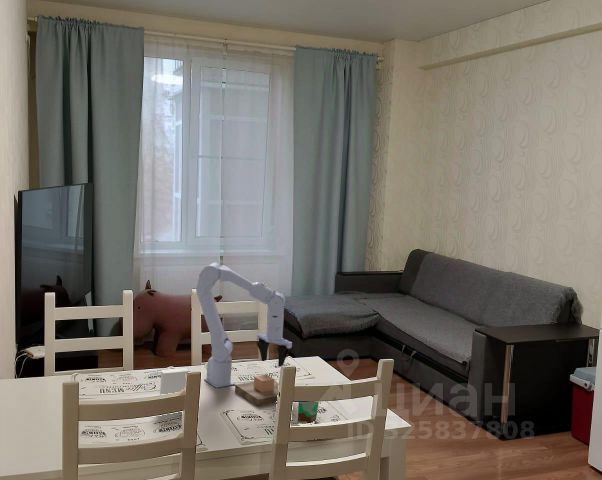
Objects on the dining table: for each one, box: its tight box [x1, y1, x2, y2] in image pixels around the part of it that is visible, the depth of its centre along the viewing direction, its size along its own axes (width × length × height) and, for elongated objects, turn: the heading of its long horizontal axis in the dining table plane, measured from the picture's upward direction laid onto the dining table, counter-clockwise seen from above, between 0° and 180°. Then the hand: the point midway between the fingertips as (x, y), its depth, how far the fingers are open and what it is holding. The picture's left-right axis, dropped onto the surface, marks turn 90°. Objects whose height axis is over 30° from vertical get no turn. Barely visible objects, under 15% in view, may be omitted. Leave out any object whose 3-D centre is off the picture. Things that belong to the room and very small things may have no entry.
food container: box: [296, 384, 320, 423], centre depth 194 cm, size 12×6×10 cm, turn 168°
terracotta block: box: [253, 374, 275, 392], centre depth 213 cm, size 5×5×4 cm
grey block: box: [159, 367, 191, 396], centre depth 198 cm, size 9×9×12 cm
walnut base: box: [234, 380, 280, 407], centre depth 213 cm, size 15×15×2 cm
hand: (272, 362), depth 220 cm, fingers open, 7 cm apart
